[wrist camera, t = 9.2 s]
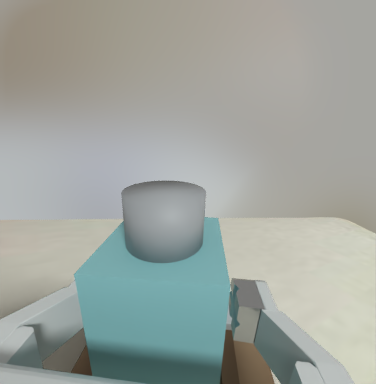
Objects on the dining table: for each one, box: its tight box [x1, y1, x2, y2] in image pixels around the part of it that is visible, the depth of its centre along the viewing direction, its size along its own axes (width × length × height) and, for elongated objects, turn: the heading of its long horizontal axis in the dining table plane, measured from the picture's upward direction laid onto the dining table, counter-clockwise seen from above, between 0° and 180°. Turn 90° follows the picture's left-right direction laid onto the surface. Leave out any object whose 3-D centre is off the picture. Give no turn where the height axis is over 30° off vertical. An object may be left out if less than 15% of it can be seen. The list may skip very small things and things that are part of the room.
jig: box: [71, 304, 274, 384], centre depth 12 cm, size 14×14×4 cm
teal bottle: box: [74, 181, 230, 384], centre depth 9 cm, size 4×4×14 cm
